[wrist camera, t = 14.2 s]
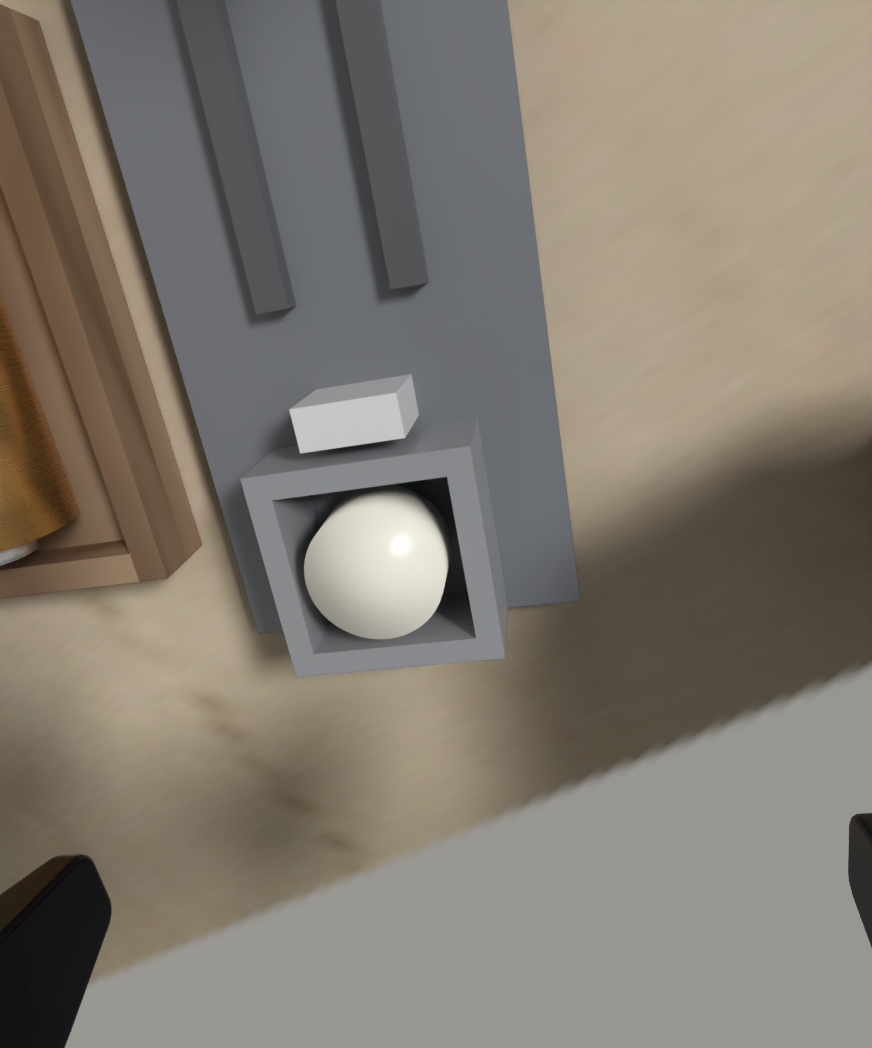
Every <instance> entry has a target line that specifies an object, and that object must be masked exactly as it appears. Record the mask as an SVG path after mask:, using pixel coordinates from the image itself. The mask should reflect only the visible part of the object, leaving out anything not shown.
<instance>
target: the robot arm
mask: <svg viewBox="0 0 872 1048" xmlns="http://www.w3.org/2000/svg"><path fill="white" fill-rule="evenodd" d="M848 865H849V867H848V875H849V882H850V887H851V890H852V894H853V897H854V900H855V903H856V906H857V908H858V911H859V914H860V917H861V919H862V922H863V925H864V927H865V930H866V933H867V936H868V939H869V941H870V944H871V947H872V813H865V814H856V815H854V816H853V817H852V818H851V821H850V825H849V860H848ZM110 918H111V901H110V898H109V896H108V893H107V891H106V889H105V887H104V884H103V882H102V880H101V878H100V875H99V873H98V871H97V868H96V866H95V864H94V862H93V860H92V859H91V858H90V857H89V856H87V855H84V854H76V855H60V856H56V857H54V858H52V859H50V860H49V861H47V862H46V863H44V864H43V865H41V866H40V867H39V868H37V869H36V870H34V871H33V872H32V873H30V874H29V875H27V876H26V877H25V878H23V879H22V880H20V881H19V882H17V883H16V884H15V885H13V886H12V887H10V888H9V889H8V890H6V891H5V892H3V893H2V894H1V895H0V1048H65V1045H66V1042H67V1040H68V1037H69V1035H70V1032H71V1029H72V1027H73V1024H74V1021H75V1018H76V1016H77V1012H78V1010H79V1007H80V1004H81V1001H82V999H83V996H84V993H85V990H86V988H87V985H88V982H89V979H90V976H91V974H92V971H93V968H94V965H95V962H96V960H97V957H98V954H99V951H100V948H101V946H102V943H103V940H104V937H105V934H106V932H107V929H108V926H109V923H110Z"/></svg>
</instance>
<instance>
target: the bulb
mask: <svg viewBox="0 0 872 1048" xmlns="http://www.w3.org/2000/svg"><path fill="white" fill-rule="evenodd" d="M451 555H452V542H451V536H450V532H449V529H448V526H447V524H446V522H445V520H444V518H443V517H442V515H441V514H440V512H439V511H438V510H437V508H436V507H435V506H434V505H433V504H432V503H431V502H429V501H428V500H427V499H426V498H424V497H423V496H421V495H420V494H418V493H416V492H414V491H412V490H410V489H407V488H404V487H401V486H396V485H383V486H375V487H368V488H360V489H358V490H356V491H354V492H352V493H350V494H349V495H347V496H346V497H344V498H343V499H342V500H341V501H340V502H339V503H338V504H337V505H336V507H335V508H334V509H333V511H332V512H331V514H330V515H329V516H328V518H327V519H326V521H325V522H324V523H323V525H322V526H321V528H320V529H319V531H318V532H317V533H316V535H315V536H314V538H313V540H312V541H311V543H310V545H309V547H308V550H307V552H306V557H305V562H304V577H305V582H306V586H307V589H308V592H309V595H310V597H311V599H312V601H313V602H314V604H315V605H316V607H317V608H318V609H319V611H320V612H321V613H322V614H323V615H324V616H325V617H326V618H327V619H328V620H329V621H330V622H332V623H333V624H334V625H336V626H337V627H339V628H341V629H342V630H344V631H346V632H348V633H351V634H353V635H356V636H360V637H364V638H369V639H391V638H397V637H400V636H404V635H406V634H408V633H411V632H413V631H415V630H416V629H418V628H419V627H421V626H422V625H423V624H424V623H426V622H427V621H428V620H429V619H430V617H431V616H432V615H433V614H434V612H435V611H436V609H437V607H438V605H439V603H440V601H441V598H442V594H443V590H444V586H445V582H446V578H447V573H448V569H449V565H450V561H451Z"/></svg>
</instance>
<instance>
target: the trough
mask: <svg viewBox="0 0 872 1048" xmlns="http://www.w3.org/2000/svg"><path fill="white" fill-rule="evenodd" d="M0 295H1V297H2V300H3V303H4V305H5V308H6V311H7V314H8V316H9V319H10V322H11V324H12V327H13V330H14V333H15V335H16V338H17V341H18V343H19V346H20V349H21V352H22V354H23V357H24V360H25V363H26V365H27V368H28V371H29V373H30V376H31V379H32V382H33V384H34V387H35V390H36V392H37V395H38V398H39V401H40V403H41V406H42V409H43V411H44V414H45V417H46V420H47V422H48V425H49V428H50V430H51V433H52V436H53V439H54V441H55V444H56V447H57V449H58V452H59V455H60V458H61V460H62V463H63V466H64V469H65V471H66V474H67V477H68V479H69V482H70V485H71V488H72V490H73V493H74V496H75V498H76V501H77V504H78V507H79V509H80V512H79V514H78V515H77V516H76V518H74V519H73V520H72V521H71V522H69V523H68V524H66V525H65V526H63V527H61V528H59V529H57V530H56V531H54V532H52V533H50V534H47V535H45V536H43V537H41V538H38V539H36V542H37V544H38V547H37V549H36V550H35V551H33V552H32V553H30V554H28V555H26V556H25V557H22V558H20V559H18V560H15V561H13V562H10V563H7V564H4V565H1V566H0V598H8V597H16V596H24V595H33V594H41V593H49V592H58V591H66V590H75V589H83V588H91V587H100V586H108V585H116V584H125V583H133V582H141V581H150V580H158V579H166V578H168V577H169V576H170V575H172V574H173V573H174V572H175V571H176V570H177V569H178V568H179V567H180V566H181V565H182V564H183V563H184V562H185V561H186V560H187V559H188V558H189V557H190V556H191V555H192V554H193V553H194V552H195V551H197V550H198V549H199V548H200V547H201V546H202V543H201V540H200V537H199V533H198V530H197V527H196V524H195V521H194V517H193V514H192V511H191V508H190V504H189V501H188V498H187V495H186V492H185V488H184V485H183V482H182V479H181V476H180V472H179V469H178V466H177V463H176V460H175V456H174V453H173V450H172V447H171V444H170V440H169V437H168V434H167V431H166V428H165V424H164V421H163V418H162V415H161V412H160V408H159V405H158V402H157V399H156V396H155V392H154V389H153V386H152V383H151V379H150V376H149V373H148V370H147V367H146V363H145V360H144V357H143V354H142V351H141V347H140V344H139V341H138V338H137V335H136V331H135V328H134V325H133V322H132V319H131V315H130V312H129V309H128V306H127V303H126V299H125V296H124V293H123V290H122V287H121V283H120V280H119V277H118V274H117V271H116V267H115V264H114V261H113V258H112V255H111V251H110V248H109V245H108V242H107V238H106V235H105V232H104V229H103V226H102V222H101V219H100V216H99V213H98V210H97V206H96V203H95V200H94V197H93V194H92V190H91V187H90V184H89V181H88V178H87V174H86V171H85V168H84V165H83V162H82V158H81V155H80V152H79V149H78V146H77V142H76V139H75V136H74V133H73V130H72V126H71V123H70V120H69V117H68V114H67V110H66V107H65V104H64V101H63V97H62V94H61V91H60V88H59V85H58V81H57V78H56V75H55V72H54V69H53V65H52V62H51V59H50V56H49V53H48V49H47V46H46V43H45V40H44V37H43V33H42V30H41V27H40V24H39V21H38V20H35V19H33V18H31V17H28V16H26V15H24V14H21V13H19V12H17V11H15V10H12V9H10V8H8V7H5V6H3V5H1V4H0Z"/></svg>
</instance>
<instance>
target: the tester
mask: <svg viewBox="0 0 872 1048" xmlns="http://www.w3.org/2000/svg"><path fill="white" fill-rule="evenodd" d="M71 3H72V7H73V10H74V13H75V17H76V20H77V23H78V27H79V30H80V34H81V37H82V40H83V44H84V47H85V50H86V54H87V57H88V61H89V64H90V67H91V71H92V74H93V77H94V81H95V84H96V88H97V91H98V94H99V98H100V101H101V104H102V108H103V111H104V114H105V118H106V121H107V125H108V128H109V131H110V135H111V138H112V141H113V145H114V148H115V152H116V155H117V158H118V162H119V165H120V168H121V172H122V175H123V179H124V182H125V185H126V189H127V192H128V195H129V199H130V202H131V206H132V209H133V212H134V216H135V219H136V222H137V226H138V229H139V232H140V236H141V239H142V243H143V246H144V249H145V253H146V256H147V259H148V263H149V266H150V270H151V273H152V276H153V280H154V283H155V286H156V290H157V293H158V297H159V300H160V303H161V307H162V310H163V313H164V317H165V320H166V324H167V327H168V330H169V334H170V337H171V340H172V344H173V347H174V350H175V354H176V357H177V361H178V364H179V367H180V371H181V374H182V377H183V381H184V384H185V388H186V391H187V394H188V398H189V401H190V404H191V408H192V411H193V415H194V418H195V421H196V425H197V428H198V431H199V435H200V438H201V441H202V445H203V448H204V452H205V455H206V458H207V462H208V465H209V468H210V472H211V475H212V479H213V482H214V485H215V489H216V492H217V495H218V499H219V502H220V506H221V509H222V512H223V516H224V519H225V522H226V526H227V529H228V533H229V536H230V539H231V543H232V546H233V549H234V553H235V556H236V559H237V563H238V566H239V570H240V573H241V576H242V580H243V583H244V586H245V590H246V593H247V597H248V600H249V603H250V607H251V610H252V613H253V617H254V620H255V624H256V627H257V630H258V634H261V633H271V632H281V631H283V632H284V636H285V639H286V643H287V646H288V650H289V653H290V657H291V660H292V664H293V668H294V671H295V675H296V677H305V676H316V675H327V674H338V673H349V672H360V671H371V670H382V669H393V668H404V667H414V666H425V665H436V664H447V663H458V662H469V661H480V660H491V659H502V658H505V655H506V637H507V618H508V608H513V607H523V606H533V605H542V604H552V603H562V602H571V601H580V595H579V587H578V579H577V571H576V562H575V554H574V546H573V538H572V530H571V521H570V513H569V505H568V497H567V489H566V480H565V472H564V464H563V456H562V448H561V439H560V431H559V423H558V415H557V407H556V398H555V390H554V382H553V374H552V366H551V357H550V349H549V341H548V333H547V325H546V316H545V308H544V300H543V292H542V284H541V275H540V267H539V259H538V251H537V243H536V234H535V226H534V218H533V210H532V202H531V193H530V185H529V177H528V169H527V161H526V152H525V144H524V136H523V128H522V120H521V111H520V103H519V95H518V87H517V79H516V70H515V62H514V54H513V46H512V38H511V29H510V21H509V13H508V5H507V0H71ZM383 485H396V486H401V487H404V488H407V489H410V490H412V491H414V492H416V493H418V494H420V495H421V496H423V497H424V498H426V499H427V500H428V501H429V502H431V503H432V504H433V505H434V506H435V507H436V508H437V510H438V511H439V512H440V514H441V515H442V517H443V518H444V520H445V522H446V524H447V526H448V529H449V532H450V536H451V542H452V555H451V561H450V565H449V569H448V573H447V578H446V582H445V586H444V590H443V594H442V598H441V601H440V603H439V605H438V607H437V609H436V611H435V612H434V614H433V615H432V616H431V617H430V619H429V620H428V621H427V622H426V623H424V624H423V625H422V626H421V627H419V628H418V629H416V630H415V631H413V632H411V633H408V634H406V635H404V636H400V637H397V638H391V639H369V638H364V637H360V636H356V635H353V634H351V633H348V632H346V631H344V630H342V629H341V628H339V627H337V626H336V625H334V624H333V623H332V622H330V621H329V620H328V619H327V618H326V617H325V616H324V615H323V614H322V613H321V612H320V611H319V609H318V608H317V607H316V605H315V604H314V602H313V601H312V599H311V597H310V595H309V592H308V589H307V586H306V582H305V577H304V562H305V557H306V552H307V550H308V547H309V545H310V543H311V541H312V540H313V538H314V536H315V535H316V533H317V532H318V531H319V529H320V528H321V526H322V525H323V523H324V522H325V521H326V519H327V518H328V516H329V515H330V514H331V512H332V511H333V509H334V508H335V507H336V505H337V504H338V503H339V502H340V501H341V500H342V499H343V498H344V497H346V496H347V495H349V494H350V493H352V492H354V491H356V490H358V489H360V488H368V487H375V486H383Z"/></svg>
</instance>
